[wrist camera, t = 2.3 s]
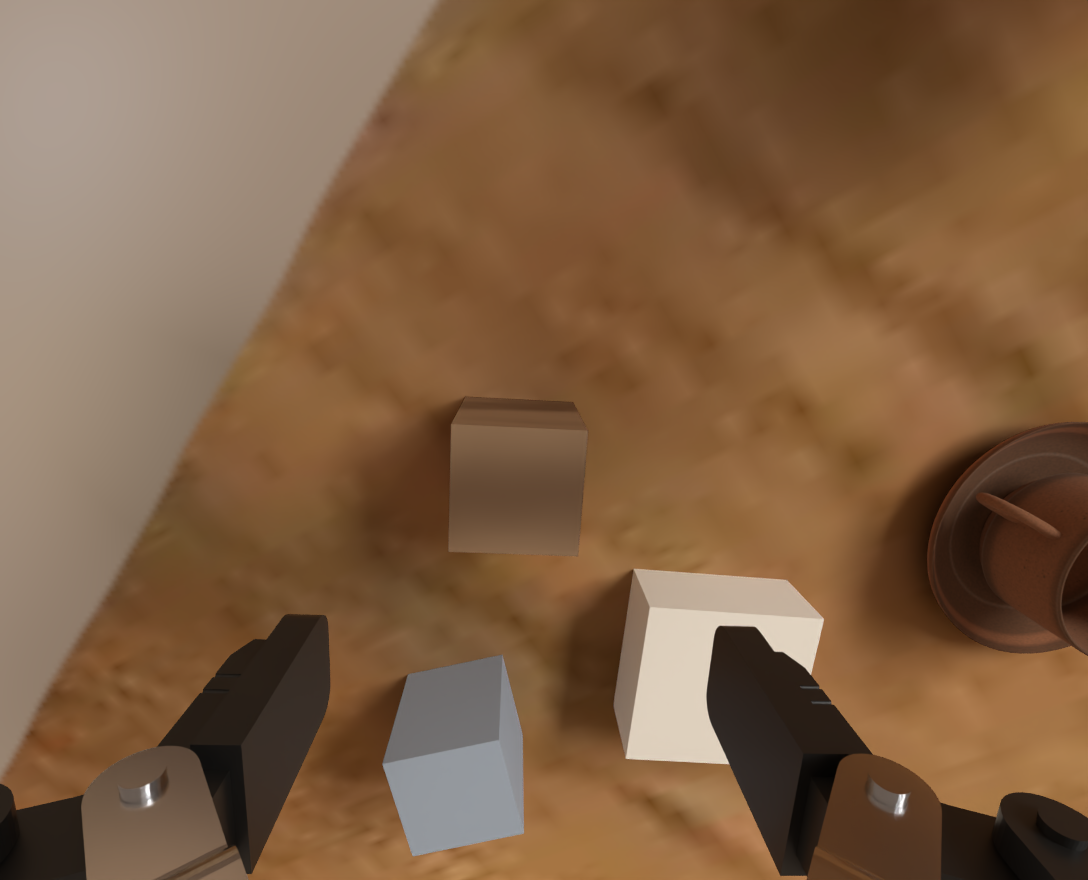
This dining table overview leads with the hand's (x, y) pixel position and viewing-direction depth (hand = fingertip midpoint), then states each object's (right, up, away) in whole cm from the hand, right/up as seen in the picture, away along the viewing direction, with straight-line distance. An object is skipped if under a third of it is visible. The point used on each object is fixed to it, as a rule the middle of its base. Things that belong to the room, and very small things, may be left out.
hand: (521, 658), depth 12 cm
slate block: (-4, -10, +19) cm, 21 cm away
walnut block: (-1, +4, +16) cm, 16 cm away
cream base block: (+9, -6, +19) cm, 22 cm away
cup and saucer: (+25, 0, +18) cm, 31 cm away
